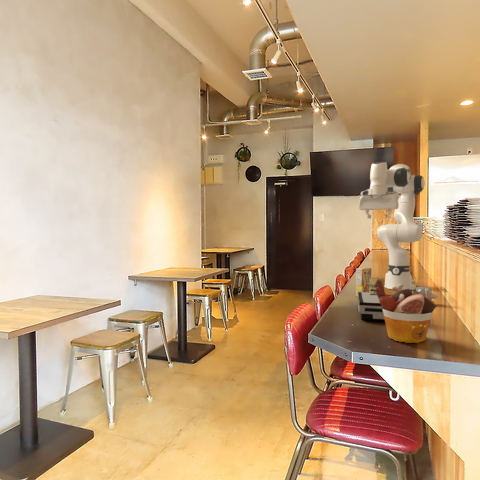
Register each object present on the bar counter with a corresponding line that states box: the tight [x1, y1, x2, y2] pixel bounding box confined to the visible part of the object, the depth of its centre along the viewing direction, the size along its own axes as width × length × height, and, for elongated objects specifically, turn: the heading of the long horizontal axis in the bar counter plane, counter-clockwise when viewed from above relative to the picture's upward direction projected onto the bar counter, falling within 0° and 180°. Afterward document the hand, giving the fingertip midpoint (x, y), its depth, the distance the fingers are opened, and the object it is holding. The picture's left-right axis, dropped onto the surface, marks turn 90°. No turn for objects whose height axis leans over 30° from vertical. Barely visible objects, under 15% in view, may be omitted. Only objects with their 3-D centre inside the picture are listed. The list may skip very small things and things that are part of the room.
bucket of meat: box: [375, 279, 439, 344], centre depth 133 cm, size 20×16×20 cm
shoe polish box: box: [369, 277, 385, 294], centre depth 196 cm, size 5×5×12 cm
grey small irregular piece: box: [415, 286, 433, 301], centre depth 191 cm, size 7×7×8 cm
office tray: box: [357, 292, 395, 322], centre depth 170 cm, size 21×32×8 cm, turn 164°
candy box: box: [355, 266, 372, 298], centre depth 213 cm, size 9×4×15 cm, turn 129°
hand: (378, 218), depth 209 cm, fingers open, 8 cm apart
